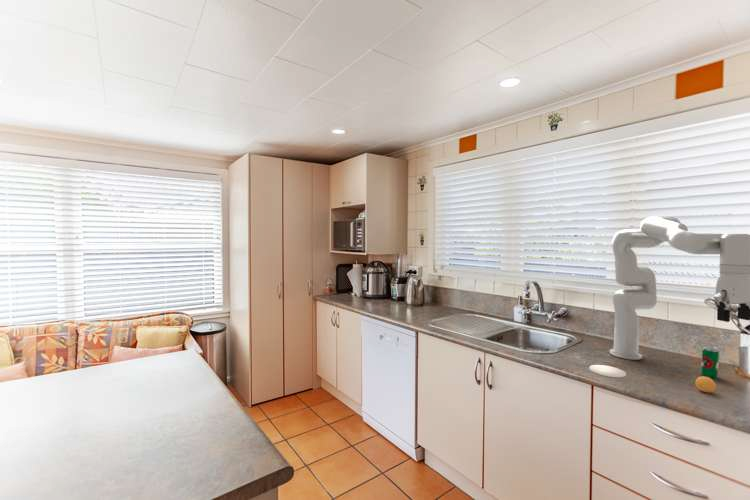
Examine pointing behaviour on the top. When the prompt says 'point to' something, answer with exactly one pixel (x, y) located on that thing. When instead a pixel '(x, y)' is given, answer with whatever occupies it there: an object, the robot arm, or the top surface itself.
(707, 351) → the soda can
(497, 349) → the top surface
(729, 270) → the robot arm
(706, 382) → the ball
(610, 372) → the disc
